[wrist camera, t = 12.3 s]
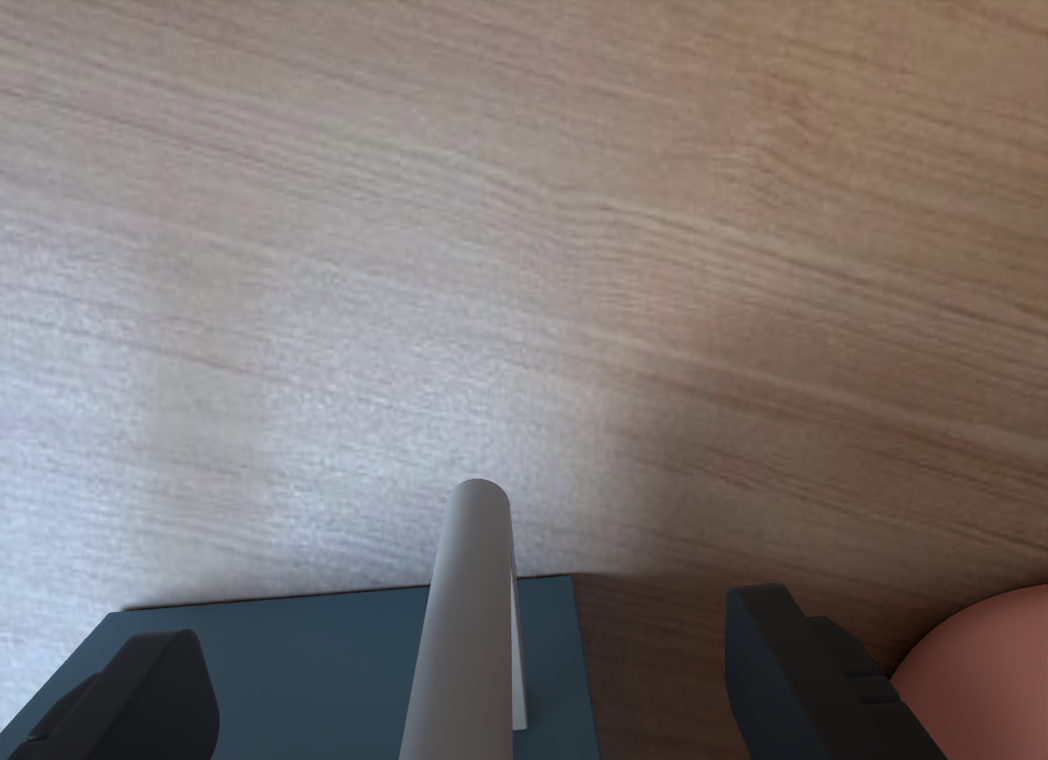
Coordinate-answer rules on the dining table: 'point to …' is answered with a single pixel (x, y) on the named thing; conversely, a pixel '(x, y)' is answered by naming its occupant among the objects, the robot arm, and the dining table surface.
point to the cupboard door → (384, 661)
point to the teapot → (984, 679)
